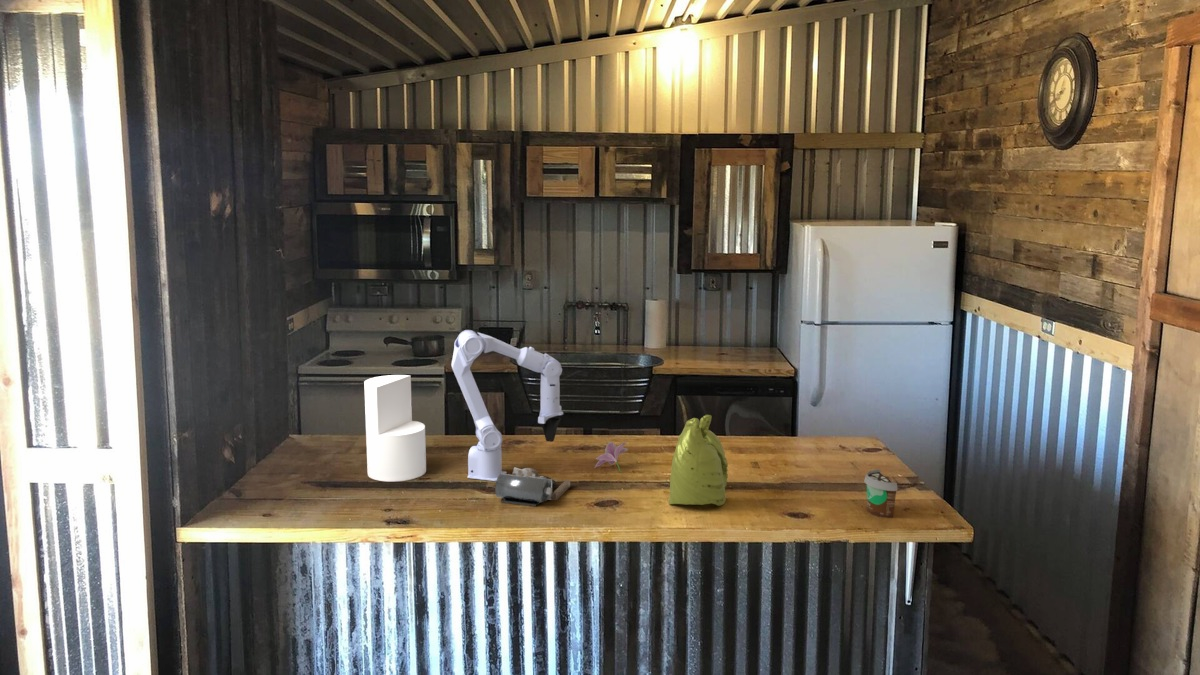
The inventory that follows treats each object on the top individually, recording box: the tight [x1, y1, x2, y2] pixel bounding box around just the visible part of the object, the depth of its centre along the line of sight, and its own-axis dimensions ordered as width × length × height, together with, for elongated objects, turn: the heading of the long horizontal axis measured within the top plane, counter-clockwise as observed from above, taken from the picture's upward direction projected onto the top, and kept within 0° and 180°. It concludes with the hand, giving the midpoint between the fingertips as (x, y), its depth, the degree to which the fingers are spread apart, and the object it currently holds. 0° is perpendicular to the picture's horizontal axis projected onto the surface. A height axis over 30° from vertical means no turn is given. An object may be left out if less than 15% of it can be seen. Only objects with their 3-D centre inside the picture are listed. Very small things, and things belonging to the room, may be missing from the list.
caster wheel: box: [511, 466, 556, 493], centre depth 259 cm, size 7×11×10 cm
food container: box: [863, 468, 898, 519], centre depth 244 cm, size 12×6×10 cm, turn 5°
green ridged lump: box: [668, 414, 729, 507], centre depth 254 cm, size 25×16×24 cm, turn 168°
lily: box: [594, 440, 629, 473], centre depth 277 cm, size 12×12×10 cm
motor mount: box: [494, 473, 571, 507], centre depth 255 cm, size 17×19×7 cm
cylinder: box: [363, 374, 427, 482], centre depth 272 cm, size 17×17×28 cm
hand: (550, 440), depth 275 cm, fingers closed
